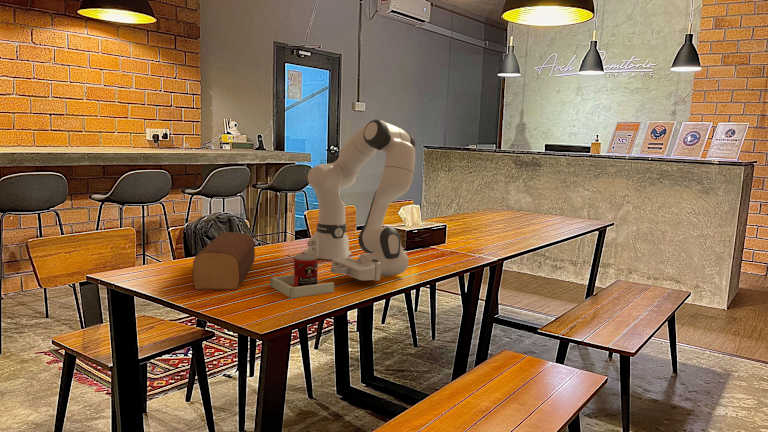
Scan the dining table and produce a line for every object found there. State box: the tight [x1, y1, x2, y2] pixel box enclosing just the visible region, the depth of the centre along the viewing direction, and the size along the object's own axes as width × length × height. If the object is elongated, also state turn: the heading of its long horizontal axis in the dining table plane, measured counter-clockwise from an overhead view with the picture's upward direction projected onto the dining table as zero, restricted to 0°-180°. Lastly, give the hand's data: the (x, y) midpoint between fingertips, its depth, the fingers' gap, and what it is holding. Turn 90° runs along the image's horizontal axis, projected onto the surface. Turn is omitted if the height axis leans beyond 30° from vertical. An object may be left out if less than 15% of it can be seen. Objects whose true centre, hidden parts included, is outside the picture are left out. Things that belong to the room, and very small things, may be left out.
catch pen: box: [269, 274, 335, 299], centre depth 194 cm, size 16×15×3 cm
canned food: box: [293, 253, 319, 287], centre depth 194 cm, size 8×8×11 cm
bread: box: [192, 231, 256, 291], centre depth 208 cm, size 16×39×13 cm, turn 5°
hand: (332, 270), depth 200 cm, fingers closed
